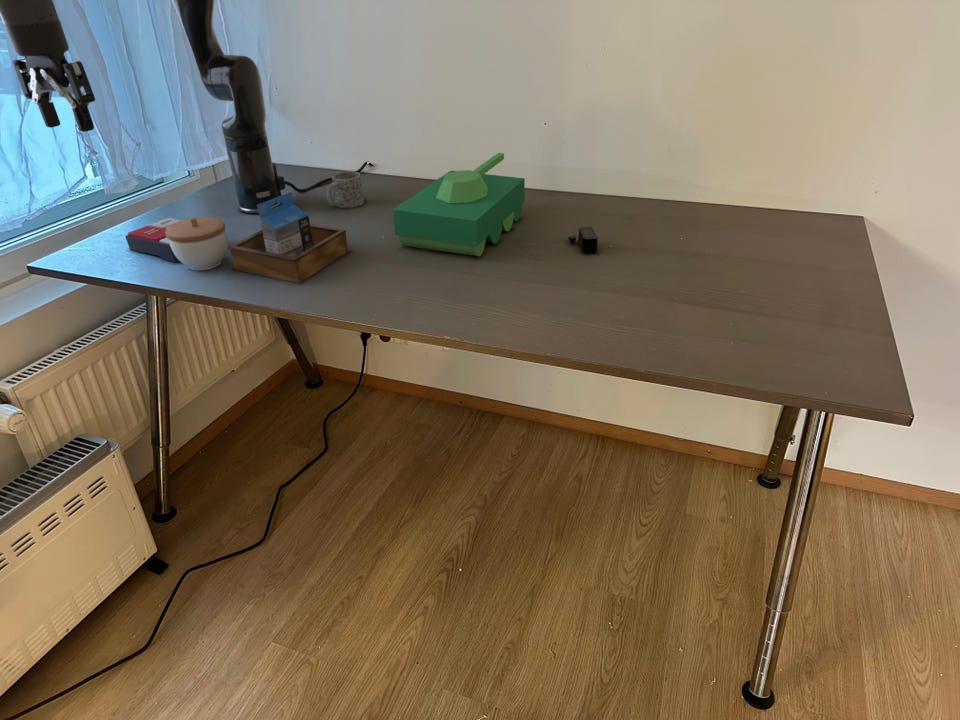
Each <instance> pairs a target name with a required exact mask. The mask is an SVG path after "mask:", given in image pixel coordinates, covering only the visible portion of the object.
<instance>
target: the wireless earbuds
mask: <svg viewBox="0 0 960 720" xmlns="http://www.w3.org/2000/svg"><path fill="white" fill-rule="evenodd" d="M567 239H568V241H570V243H572V244H573V243H575V242H576V241H578V244H579V246H580V248H581V251H582V253H583V254H586V255H587V254H596V253H597V252H598V239H599V238H598V235H597V233H596V231H595V229H594V227H593V226H580V227H578V240H577V236H576V235H575V234H571V235H570V236H569V237H568V238H567Z"/></svg>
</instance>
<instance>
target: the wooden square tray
mask: <svg viewBox="0 0 960 720" xmlns="http://www.w3.org/2000/svg"><path fill="white" fill-rule="evenodd" d="M310 228H311V234H312V240H313V246H312V247H310V248H309V249H307V250H305V251H304V252H302V253H300V254H298V255H297V256H295V257H291V256H286V255H280V254H275V253H270V252H267V251H266V246H265V241H264V236H263V231H262V229H261V230H259V231H257V232H255V233H252V235H249V236H247V237H246V238H243V239H241V240H239V241H238V242H236V243H233V244H232V245H229V246H228V247H227V249H228V250H229V252H230V256H231V260H232V264H233V269H234V270H235V271H240V272H245V273H249V274H255V275H259V276H264V277H269V278H273V279H278V280H283V281H288V282H292V283H296V284H300V283H302V282H304V281H305V280H306V279H308V278H310V277H312V276H313V275H314V274H316V273H317V272H319V271H320V270H322V269H324V268H325V267H326V266H328V265H330V264H331V263H333V262H334V261H336V260H338V259H340V258H341V257H342V256H344V255H346V254H348V253H349V248H348V246H349V245H348V240H347V234H346V233H347V229H343V228H337V227H332V226H325V225H318V224H313V223H310Z"/></svg>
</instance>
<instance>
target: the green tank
mask: <svg viewBox="0 0 960 720" xmlns="http://www.w3.org/2000/svg"><path fill="white" fill-rule="evenodd" d="M504 159H505V153H504V152H497V153H496V154H494V155H493V156H491V157H490V158H489V159H487V160H486V161H485V162H483V163H482V164H480V165H479V166H478V167H476V168H475V169H474V170H469V169H468V170H450V171H448V172H446V173H445V174H443V175H442V176H440V177H439V178H437V179H436V180H434V181H433V182H432V183H430V184H429V185H426V187H425V188H423V189H421V190H420V191H418V192H417V193H415V194H414V195H412V196H411V197H409V198H408V199H407V200H405V201H403V202H402V203H400V204H399V205H398V206H395V208H393V209H392V217H393V227H394V236H395V235H397V236H398V240H399V243H400V244H401V245H402V246H405V247H409V248H410V247H411V248H417V249H425V250H432V251H438V252H444V253H445V252H446V253H452V254H461V255H467V256H474V257H480V256H482V255H483V252H484V250H485V248H486V247H485V246H486V244H487V243H488V244H497V243H498V242H499V240H500V239H501V236H502V232H509V231H510V230H511V229H512V226H513V224H514V222H517V221H518V220H519V219H520V217H521V214H522V211H523V210H522V209H523V203H524V202H525V187H526V185H525V182H526V181H525V177H515V176H507V175H496V174H487V173H488V172H489V171H490V170H491V169H492V170H493V168H494V167H495V166H498V164H500V163H501V162H502V161H503V160H504Z"/></svg>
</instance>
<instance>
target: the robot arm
mask: <svg viewBox="0 0 960 720" xmlns="http://www.w3.org/2000/svg"><path fill="white" fill-rule="evenodd" d="M170 2H171V4H172V7H173V9H174V11H175V13H176V16H177V19H178V21H179V23H180V25H181V28H182V30H183V32H184V35H185V38H186V40H187V43H188V45H189V48H190V51H191V55H192V58H193V60H194V63H195V66H196V69H197V72H198V75H199V77H200V80H201V82H202V84H203V86H204V88H205V90H206V91H207V93H208V94H209V95H210V96H211V97H212V98H214V99H215V100H218V101H223V102H225V101H226V102H233V110H234V113H233V115H232V116H229V117H228V118H226V119H223V120H222V122H221V131H222V135H223V140H224V144H225V148H226V153H227V157H228V163H229V166H230V170H231V174H232V179H233V184H234V189H235V192H236V196H237V197H236V198H237V202H238V207H239V211H240V212H241V213H245V214H253V215H254V214H259V212H258V208H257V205H258V204H261V203H263V202H266V201H269V200H271V199H274V198H277V197H279V196H282V191H283V190H286V185H287V186H289V187H291V188H292V189H293V190H294V191H296V192H297V193H305V192H307V191H311V190H313V189H315V188H317V187H319V186H321V185H323V184H325V183H328V182H333V180H332V176H331V177H328V178H324V179H322V180H320V181H318V182H316V183H314V184H313V185H311V186H309V187H306V188H299V187H297V186H295V184H293V183H292V182H290V181H287V180H285V177H284V176H282V175H278V170H277V166H276V165H277V164H276V163H275V162H273V160H272V155H271V151H270V144H269V140H268V135H267V128H266V120H267V119H266V117H267V111H266V105H265V98H264V97H265V96H264V91H263V82H262V78H261V74H260V70H259V68H258V65H257V64H256V63H255V62H254V60H253V59H252V58H250V57H249V56H246V55H241V54H237V55H236V54H225V53H224V52H223V50H222V47H221V45H220V43H219V40H218V38H217V35H216V32H215V28H214V10H215V4H216V3H215V2H216V1H215V0H170ZM0 18H1V21H2V24H3V27H4V28H5V31H6V34H7V36H8V39H9V42H10V44H11V47H12V50H13V52H14V53H15V55H17V56H19V57H23V58H18V59H13V60H12V65H13V68H14V70H15V73H16V76H17V79H18V82H19V84H20V87H21V90H22V93H23V95H24V98H25V99H26V100H30V99H31V100H32V101H33V103H34V104H36V105H37V107H38V109H39V112H40V114H41V117H42V120H43V123H44V124H45V127H47V128H51V129H52V128H56V127H59V126H60V125H61V120H60V118H59V115H58V112H57V110H56V107H55V104H54V102H53V101H52V95H53V92H56V93H57V94H58V96H60V97H62V98H64V99H65V100H66V101H67V102H68V104H69V105H70V106H71V110H72V113H73V115H74V118H75V122H76V125H77V128H78V130H79V131H80V132H84V133H86V132H90V131H93V130H94V129H95V127H94V120H93V118H92V115H91V112H90V109H89V105H90V103H93V102H95V101H96V97H95V95H94V92H93V89H92V87H91V83H90V82H89V81H90V80H89V78H88V75H87V73H86V70H85V67H84V64H83V62H81V61H80V60H77V61H76V60H75V61H71V62H69V61H68V60H67V57H66V56H65V53H66V52H68V51H69V49H70V47H69V43H68V40H67V37H66V35H65V31H64V29H63V25H62V22H61V19H60V16H59V14H58V11H57V8H56V4H55V2H54V0H0ZM82 88H83V90H84V92H83V91H82ZM30 89H31V90H30ZM73 95H74V96H73ZM367 162H368V161H365V162H364V163H363V164H361V167H359V168H358V169H357V170H354V172H359V173H361V172H362V171H363V170H364V169H365V168H366V166H368V165H369V166H370V167H374V165H373V163H372V162H370V163H369V164H367ZM281 205H282V203H275V205H273V206H271V209H274V208H276V207H279V206H281Z"/></svg>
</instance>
